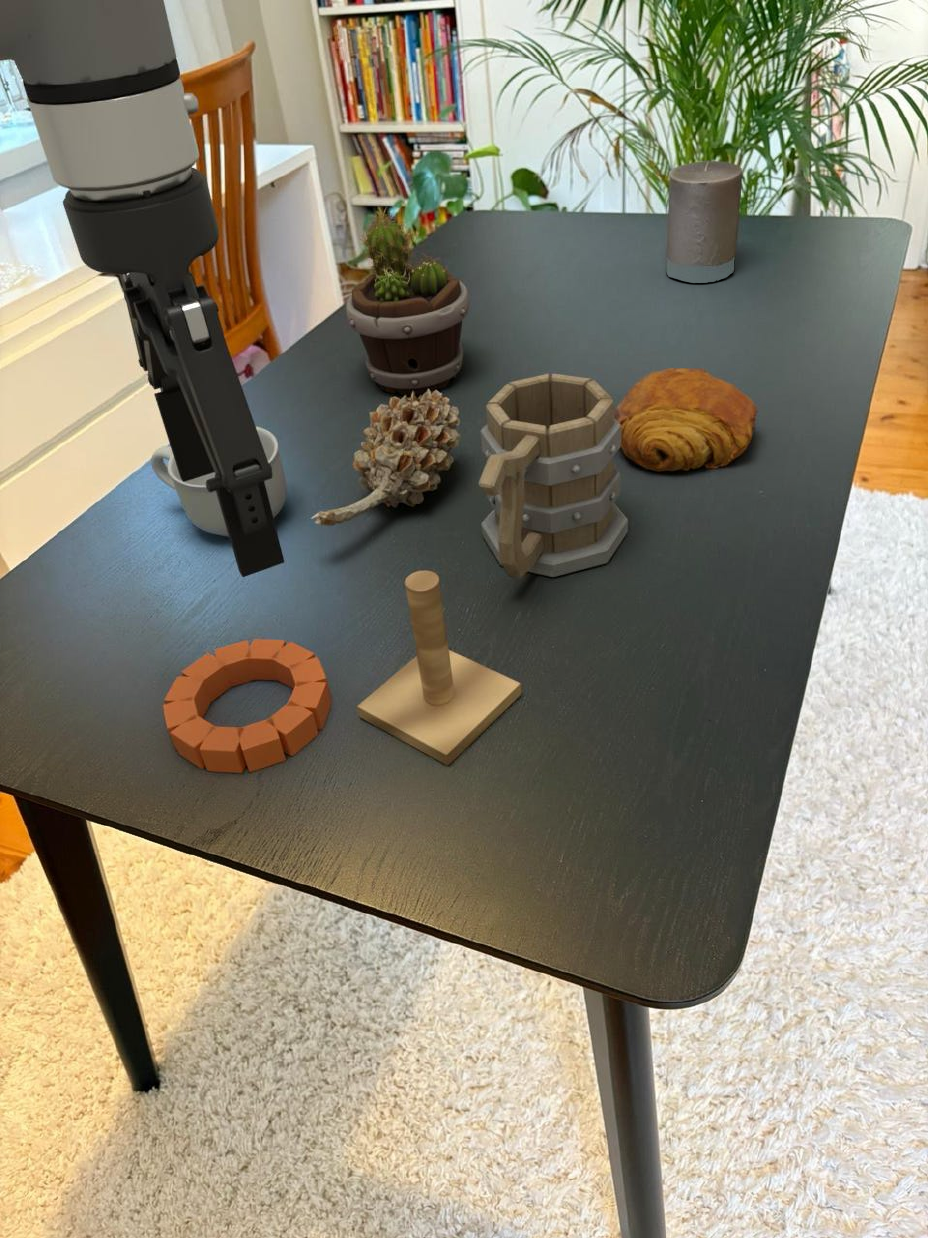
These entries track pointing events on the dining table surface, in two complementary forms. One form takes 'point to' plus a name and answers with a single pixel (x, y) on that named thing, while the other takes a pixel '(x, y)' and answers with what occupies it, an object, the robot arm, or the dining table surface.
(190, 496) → the teacup
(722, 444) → the croissant
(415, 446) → the pine cone
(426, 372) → the flowerpot
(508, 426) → the tankard
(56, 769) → the dining table surface
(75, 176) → the robot arm
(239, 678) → the ring
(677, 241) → the pillar candle
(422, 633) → the rack
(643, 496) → the dining table surface
